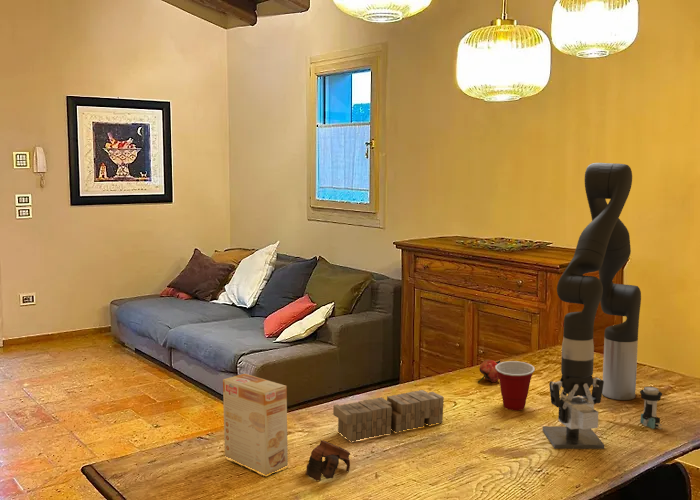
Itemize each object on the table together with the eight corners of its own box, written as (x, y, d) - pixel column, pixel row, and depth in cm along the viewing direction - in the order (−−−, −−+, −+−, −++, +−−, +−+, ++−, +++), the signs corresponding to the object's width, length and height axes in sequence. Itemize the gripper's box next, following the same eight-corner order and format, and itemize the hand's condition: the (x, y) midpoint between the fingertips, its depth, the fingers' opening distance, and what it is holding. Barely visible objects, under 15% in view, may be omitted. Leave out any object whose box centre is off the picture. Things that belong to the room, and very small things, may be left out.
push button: (668, 429, 186) (670, 392, 185) (652, 432, 184) (654, 394, 183) (650, 420, 192) (651, 384, 191) (634, 423, 190) (635, 386, 189)
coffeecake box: (289, 468, 164) (287, 385, 161) (265, 478, 159) (263, 392, 156) (247, 450, 174) (245, 372, 171) (223, 459, 169) (221, 378, 166)
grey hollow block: (558, 420, 181) (559, 397, 181) (579, 418, 183) (580, 395, 182) (579, 434, 172) (579, 410, 171) (601, 432, 173) (602, 408, 173)
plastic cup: (490, 411, 200) (491, 369, 199) (498, 399, 210) (499, 359, 209) (530, 416, 196) (531, 373, 195) (536, 403, 206) (537, 363, 205)
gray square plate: (542, 430, 186) (543, 396, 185) (589, 430, 186) (590, 396, 185) (554, 448, 174) (555, 412, 173) (604, 448, 174) (605, 412, 173)
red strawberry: (488, 393, 223) (512, 372, 224) (473, 375, 222) (498, 354, 223) (480, 388, 230) (504, 368, 231) (466, 370, 229) (490, 350, 230)
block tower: (426, 418, 198) (331, 434, 184) (427, 388, 197) (332, 402, 183) (443, 427, 191) (346, 445, 177) (444, 397, 190) (346, 411, 176)
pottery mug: (299, 470, 164) (313, 435, 166) (336, 485, 165) (350, 451, 167) (308, 479, 152) (324, 442, 154) (348, 495, 154) (363, 458, 156)
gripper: (595, 349, 182) (592, 413, 184) (543, 353, 179) (541, 418, 181) (612, 357, 175) (609, 423, 177) (559, 361, 172) (557, 429, 174)
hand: (575, 420), depth 179 cm, fingers closed on grey hollow block, 6 cm apart
